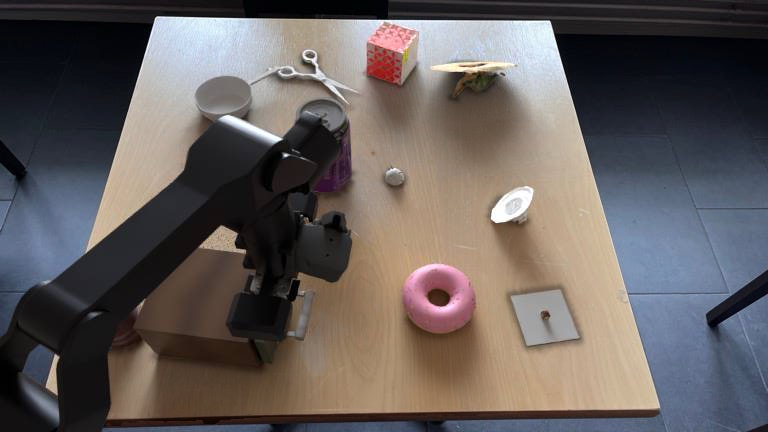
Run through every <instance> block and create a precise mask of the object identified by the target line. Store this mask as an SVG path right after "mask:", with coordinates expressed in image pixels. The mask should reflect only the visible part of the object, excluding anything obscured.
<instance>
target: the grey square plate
mask: <svg viewBox="0 0 768 432" xmlns="http://www.w3.org/2000/svg"><path fill="white" fill-rule="evenodd" d="M510 299H511V301H512V305H513V308H514V311H515V314H516V317H517V320H518V323H519V326H520V329H521V332H522V335H523V338H524V341H525V344H526V347H530V346H536V345H543V344H550V343H557V342H562V341H563V342H564V341H570V340H576V339H580V336H579V333H578V331H577V328H576V326H575V323H574V320H573V317H572V315H571V312H570V310H569V308H568V305H567V303H566V301H565V300H566V299H565V298H564V296H563V292H562V290H561V289H553V290H545V291H539V292H531V293H523V294H516V295H510Z"/></svg>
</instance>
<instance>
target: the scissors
mask: <svg viewBox="0 0 768 432" xmlns="http://www.w3.org/2000/svg"><path fill="white" fill-rule="evenodd" d="M308 54H311V55H313V56H314V57H313V58H309V57H307V56H306V55H308ZM301 56H302V60H303V61H304V62H305V63H309V64H312V65H313V66H314V67H315V73H300V72H298V71H296V69H295V67H293V66H289V65H284V66H281V67H280V68H281V70H280V71H278V72H276V73H275V74H278V76H279V77H280V78H281V79H293V78H300V79H305V78H308V79H312V80H315V81H317V82H322V84H323V85H325V87H327V88H328V89H329V90H330V91H331V92H332V93H333V94H335V95H336V96H337V97H338V98H340V99H341V100H342V101H343V102H344V103H346V104H347V105H350V103H349V102H348V101H347V100H346V98H345V97H344V96H343V95H342V94H341V93H340V92H339V91H338V89H336V87H338V88H340V89H345V90H347V91H351V92H354V93H357V94H359V95H362V93H361V92H359V91H357V90H356V89H353V88H351V87H349V86H347V85H345V84H343V83H340V82H338V81H336V80H333V79H331V78H329V77H327V76H326V75H325V74H324V73H323V72H322V71H321V69H320V68H319V64H318V63H317V61H318V53H317V52H316V51H315V50H313V49H305V50H304V51H303V52H302V54H301ZM272 68H273V67H268V69H267V71H268V70H270V69H272ZM284 71H289V72H291V73H290V74H286V73H283V72H284Z"/></svg>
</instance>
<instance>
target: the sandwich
mask: <svg viewBox="0 0 768 432" xmlns="http://www.w3.org/2000/svg"><path fill="white" fill-rule="evenodd" d="M507 67H518V65H517V64H515V63H513V62H500V61H499V62H498V61H474V62H473V61H472V62H453V63H445V64H444V63H443V64H438V65H432V66H429V70H431V71H443V72H449V73H453V72H458V73H460V72H462V73H463V75H464V77H462V78H460V80H459V81H458V82H457V84H456V86H455V88H454V91H453V95H452V96H451V98H452V99H455V98H456V97H457V96H458V95H459V94H460V93H461V92H462V91H464V90H465V88H466V87H469V88H470V89H472V90H473V91H475V92H481V91H483V90H485V89H487V88H488V87H489V86H490V85H491V83H492V82H493V81H494V80H496V79H497V78H498V77H499V76H500V75H501V76H503V77H506V73H505V72H502V70H503V71H504V70H505V69H506V68H507ZM497 71H501V72H500V73H499V74H498V73H497ZM486 72H489V73H487V74H486ZM492 72H494V73H492Z"/></svg>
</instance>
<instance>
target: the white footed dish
mask: <svg viewBox="0 0 768 432" xmlns="http://www.w3.org/2000/svg"><path fill="white" fill-rule="evenodd" d="M533 196H534V188H531V187H530V186H528V185H525V186H517V187H516V188H515V189H512V190H511V191H509V192H508V193H506V194H504V195H503V196H502V197H501V198H500V199H499V200H498V202H497V203H496V204H495V206H494V207H493V208H492V209H491V217H490V219H491V220H492V221H493V222H494V223H496V224H498V223H505V222H506V223H507V222H509V221H511V222H513V223H516V222H517V221H518V225H520V224H522V223H523V222H526V221H527V217H528V213H527V212H528V211H529V206H530V203H531V201H532V199H533Z"/></svg>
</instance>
